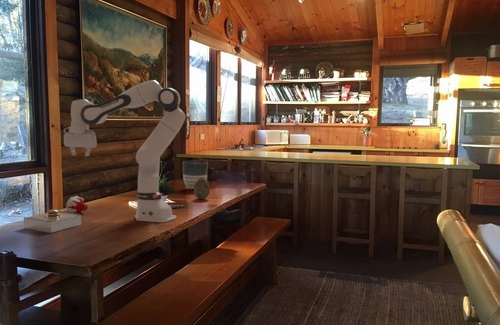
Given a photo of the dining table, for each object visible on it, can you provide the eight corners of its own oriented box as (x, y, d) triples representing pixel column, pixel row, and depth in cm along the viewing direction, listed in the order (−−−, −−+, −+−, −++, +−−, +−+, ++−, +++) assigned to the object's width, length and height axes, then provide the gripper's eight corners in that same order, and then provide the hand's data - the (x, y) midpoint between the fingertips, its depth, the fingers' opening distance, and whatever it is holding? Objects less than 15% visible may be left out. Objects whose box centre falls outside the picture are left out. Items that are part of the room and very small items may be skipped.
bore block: (81, 224, 210) (81, 214, 210) (51, 232, 194) (50, 221, 193) (55, 220, 217) (54, 210, 217) (24, 228, 201) (23, 217, 201)
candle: (72, 208, 245) (93, 214, 240) (58, 212, 234) (79, 218, 229) (73, 193, 243) (95, 198, 239) (59, 196, 233) (81, 202, 228)
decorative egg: (205, 201, 277) (205, 178, 276) (190, 200, 281) (191, 177, 279) (212, 198, 288) (212, 176, 286) (197, 197, 291) (198, 176, 290)
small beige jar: (60, 226, 207) (60, 209, 206) (52, 227, 203) (52, 211, 202) (54, 224, 209) (53, 209, 208) (46, 226, 205) (45, 210, 204)
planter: (206, 191, 316) (206, 163, 314) (180, 191, 316) (180, 162, 314) (209, 187, 335) (209, 160, 333) (184, 187, 336) (184, 160, 333)
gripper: (99, 130, 221) (99, 156, 223) (70, 129, 230) (71, 154, 231) (90, 130, 216) (90, 157, 217) (61, 129, 224) (62, 155, 225)
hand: (80, 155), depth 224 cm, fingers open, 8 cm apart
